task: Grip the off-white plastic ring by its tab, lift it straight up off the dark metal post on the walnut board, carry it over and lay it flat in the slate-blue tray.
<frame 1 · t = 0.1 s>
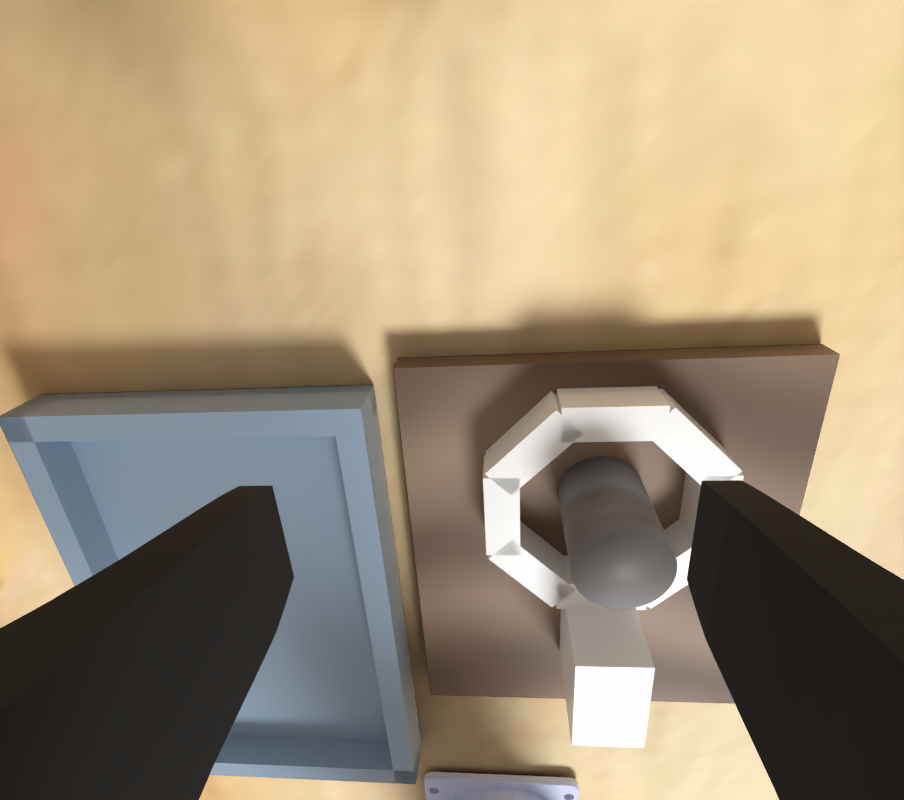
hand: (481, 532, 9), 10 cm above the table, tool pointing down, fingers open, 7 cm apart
tray: (259, 593, 24), on the table
ring: (599, 492, 19), point 1 cm above the table, touching stake board
stake board: (591, 540, 21), on the table
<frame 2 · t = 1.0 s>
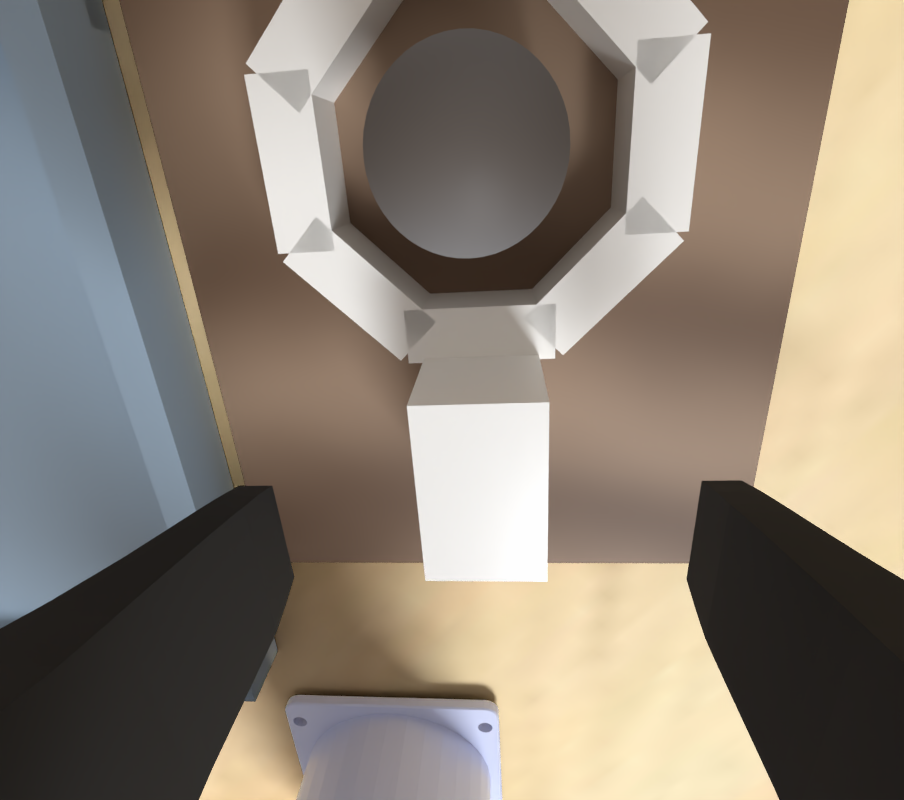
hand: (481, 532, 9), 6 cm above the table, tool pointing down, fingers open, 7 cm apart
tray: (5, 408, 16), on the table
ring: (475, 156, 11), point 1 cm above the table, touching stake board
stake board: (481, 286, 13), on the table
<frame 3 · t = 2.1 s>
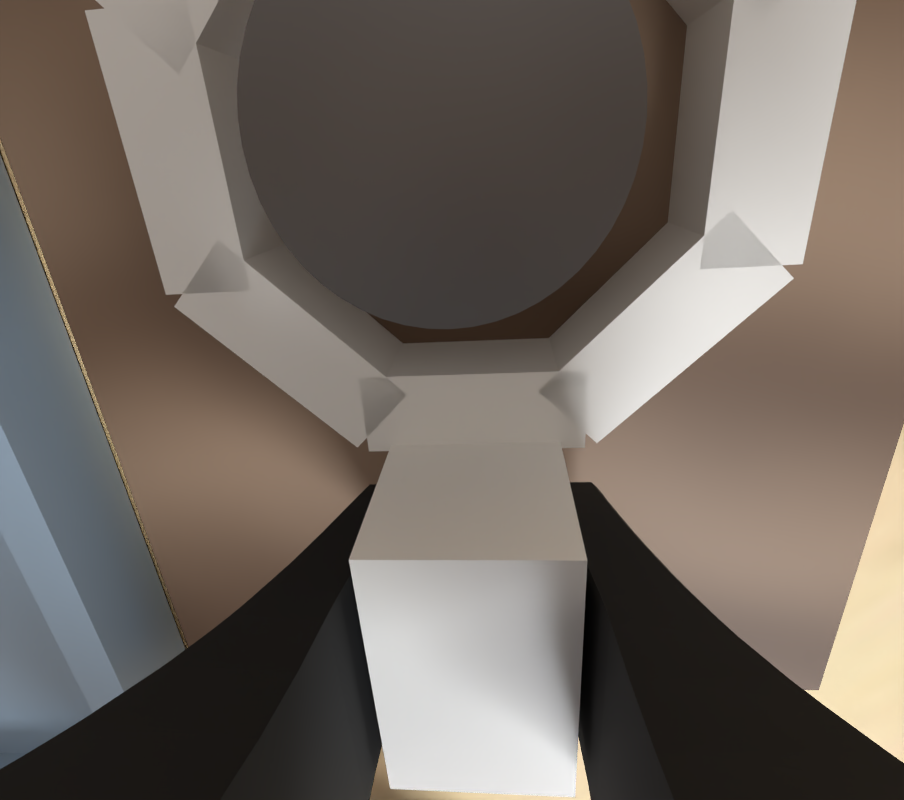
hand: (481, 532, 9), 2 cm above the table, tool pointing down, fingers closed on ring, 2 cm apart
ring: (465, 145, 8), point 1 cm above the table, touching gripper, stake board
stake board: (477, 329, 10), on the table
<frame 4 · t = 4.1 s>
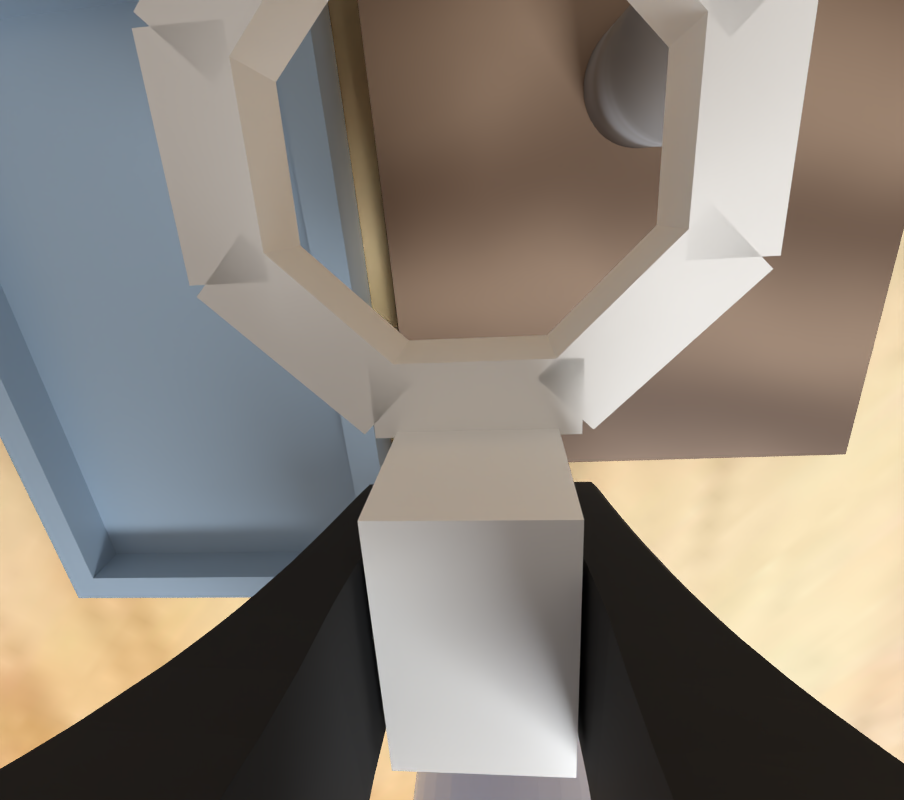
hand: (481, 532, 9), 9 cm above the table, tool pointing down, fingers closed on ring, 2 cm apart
tray: (187, 332, 18), on the table
ring: (469, 154, 8), point 8 cm above the table, touching gripper
stake board: (628, 205, 15), on the table
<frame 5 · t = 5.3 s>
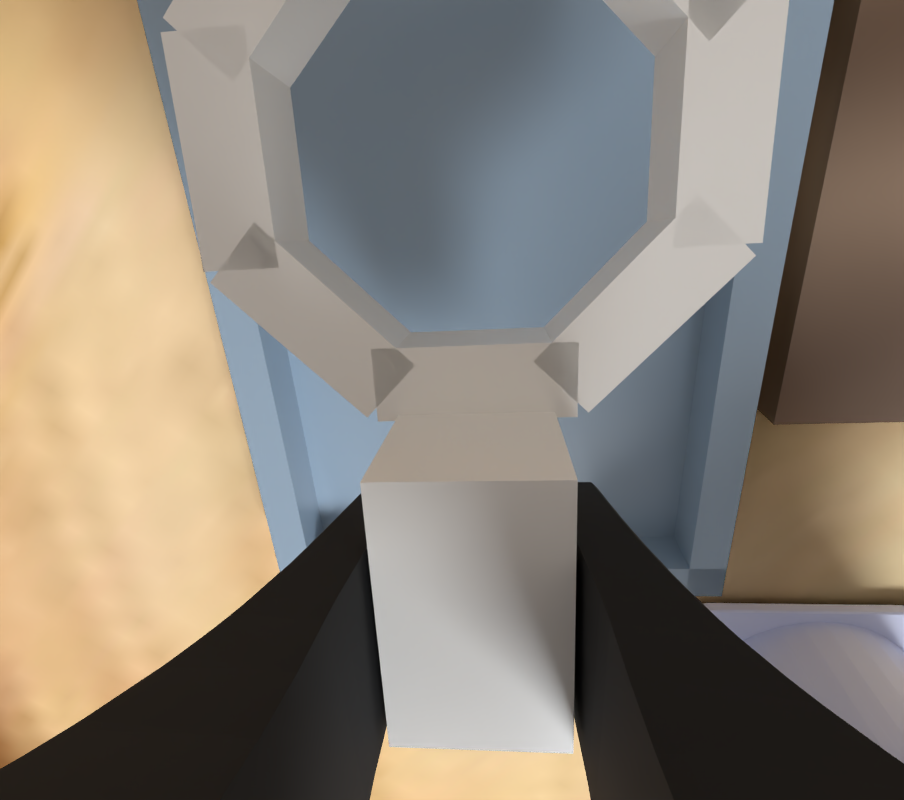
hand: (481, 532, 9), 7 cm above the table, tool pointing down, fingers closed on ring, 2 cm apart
tray: (483, 239, 14), on the table
ring: (469, 155, 9), point 4 cm above the table, tilted 8°, touching gripper
when the fingers open (3 cm above the table, at t = 6.2 s): ring stays where it is, resting on tray.
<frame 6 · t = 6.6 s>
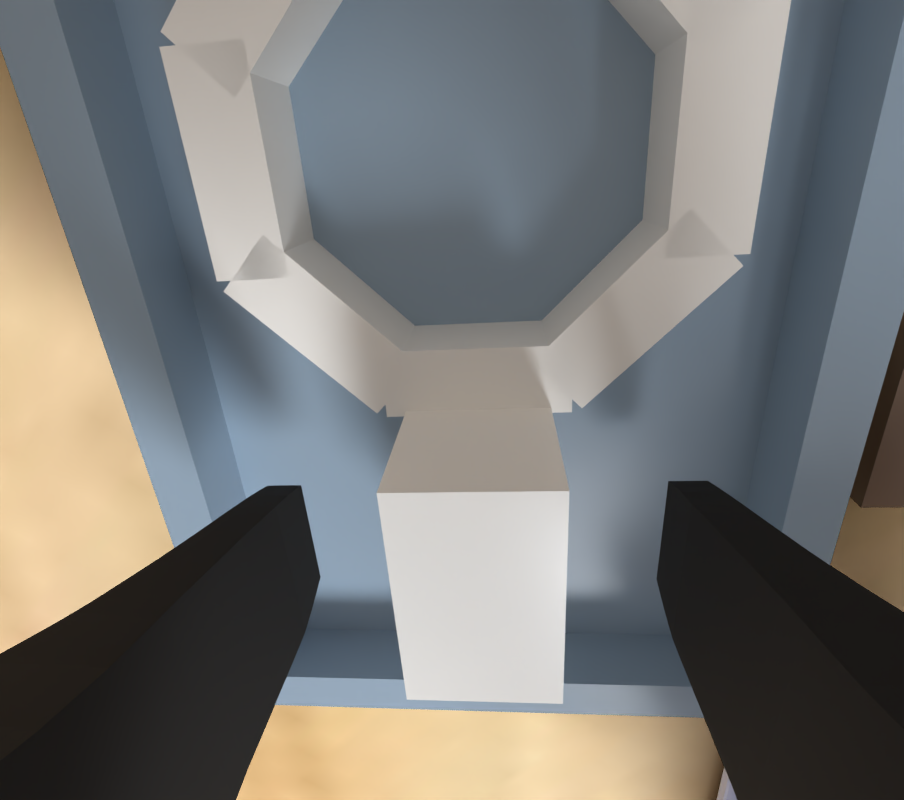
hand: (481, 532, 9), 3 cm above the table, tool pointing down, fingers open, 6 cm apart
tray: (476, 263, 10), on the table
ring: (469, 154, 9), point 1 cm above the table, touching tray
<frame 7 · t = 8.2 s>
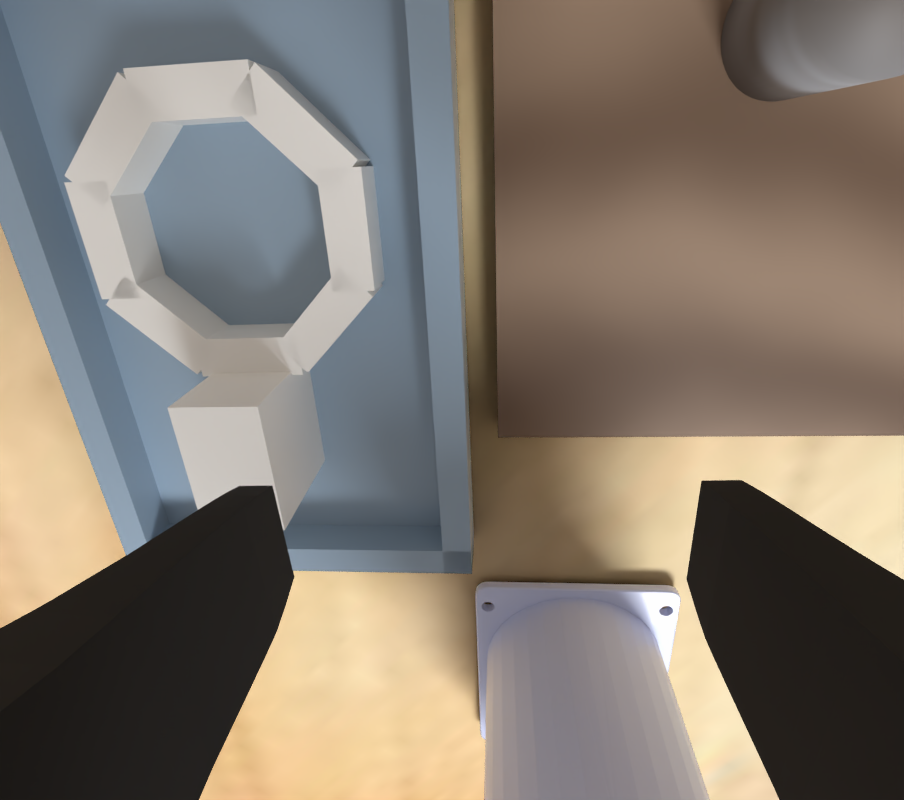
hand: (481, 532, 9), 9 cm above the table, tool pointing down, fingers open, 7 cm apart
tray: (266, 289, 17), on the table
ring: (245, 231, 16), point 1 cm above the table, touching tray
stake board: (746, 166, 15), on the table
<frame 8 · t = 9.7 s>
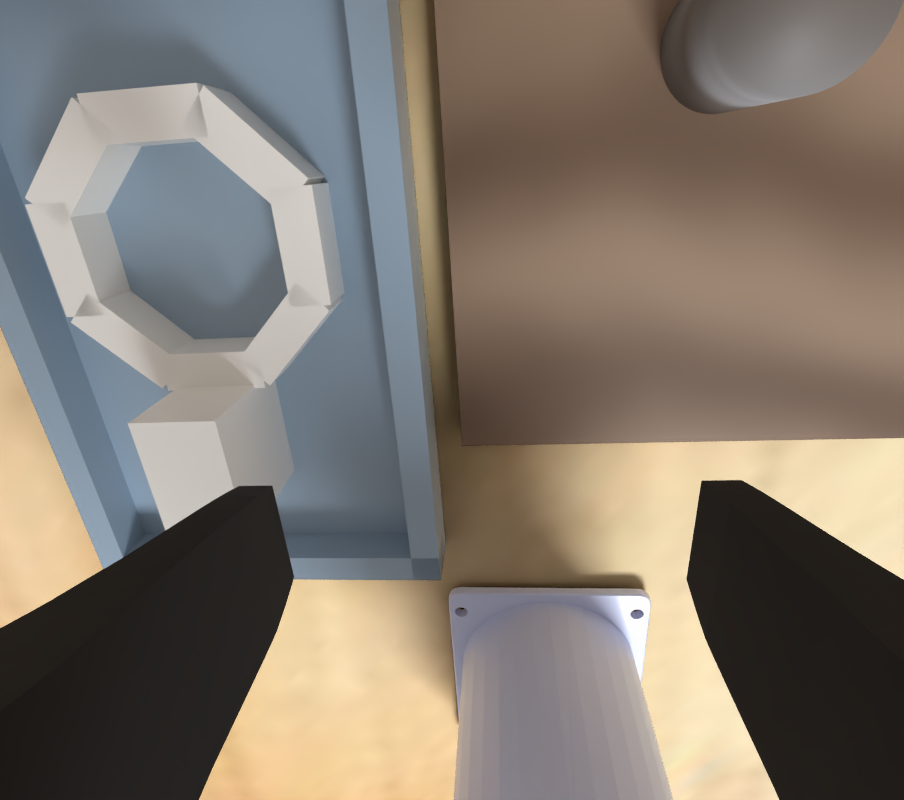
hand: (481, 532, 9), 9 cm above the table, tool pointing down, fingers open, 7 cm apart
tray: (230, 303, 18), on the table
ring: (206, 247, 16), point 1 cm above the table, touching tray
stake board: (694, 176, 15), on the table
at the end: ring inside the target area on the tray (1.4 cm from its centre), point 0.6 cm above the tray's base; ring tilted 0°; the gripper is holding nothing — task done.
